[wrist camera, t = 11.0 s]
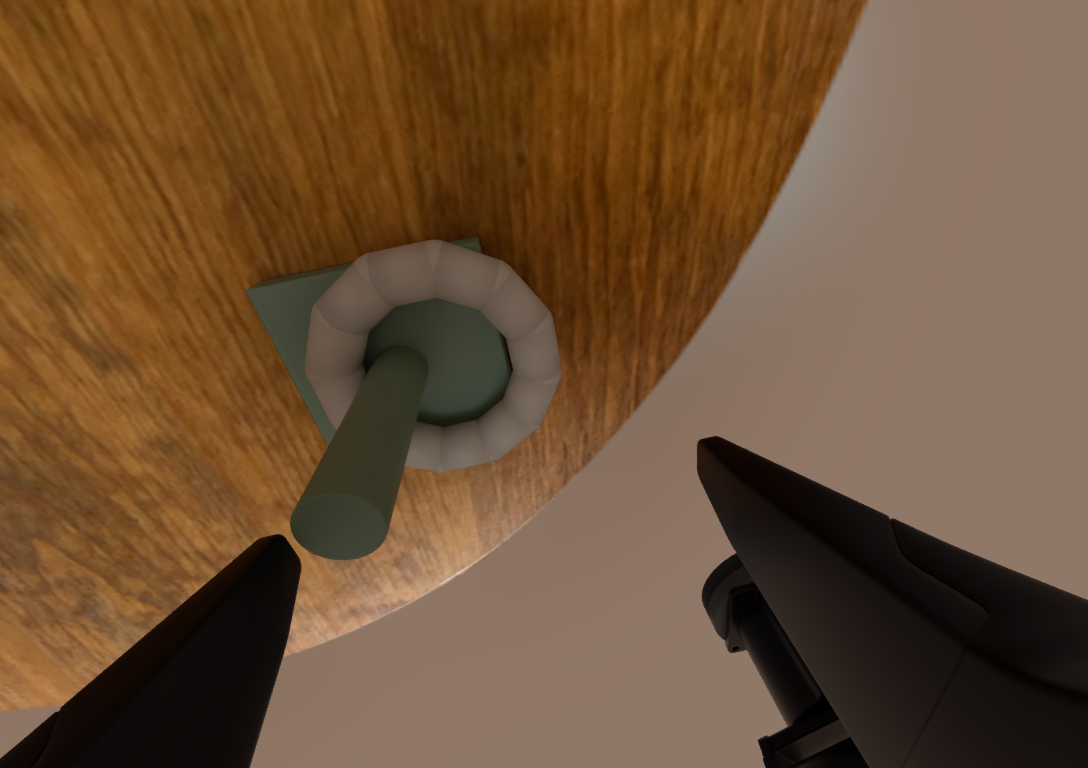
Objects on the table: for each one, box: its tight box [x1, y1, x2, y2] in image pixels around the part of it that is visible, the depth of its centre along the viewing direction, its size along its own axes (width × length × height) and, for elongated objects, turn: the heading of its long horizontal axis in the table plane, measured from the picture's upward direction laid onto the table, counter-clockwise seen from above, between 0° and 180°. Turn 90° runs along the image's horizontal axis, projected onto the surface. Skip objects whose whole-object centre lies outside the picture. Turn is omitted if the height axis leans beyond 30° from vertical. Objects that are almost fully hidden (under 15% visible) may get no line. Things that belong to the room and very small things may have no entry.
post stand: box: [246, 236, 512, 560], centre depth 13 cm, size 8×8×9 cm
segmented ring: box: [305, 240, 562, 473], centre depth 16 cm, size 9×9×2 cm
